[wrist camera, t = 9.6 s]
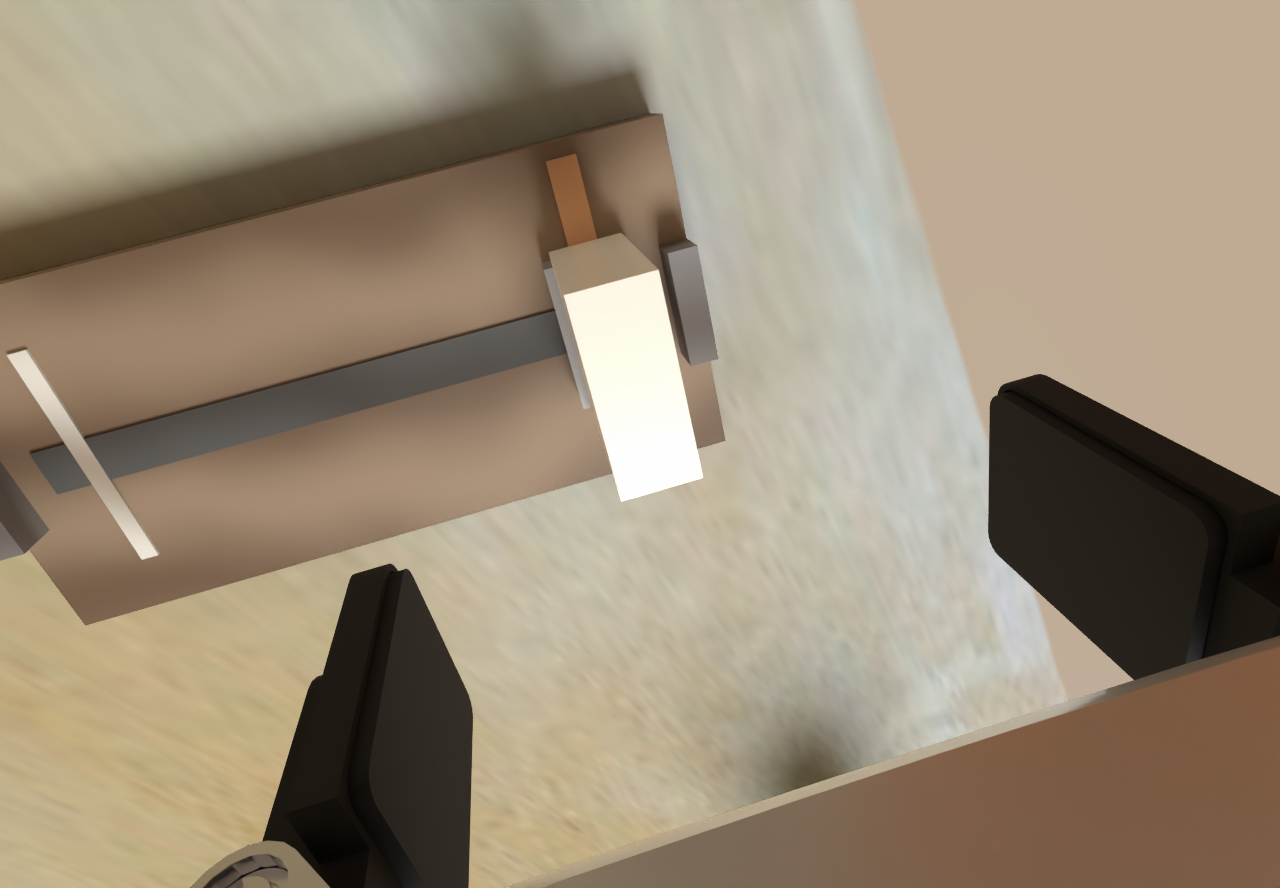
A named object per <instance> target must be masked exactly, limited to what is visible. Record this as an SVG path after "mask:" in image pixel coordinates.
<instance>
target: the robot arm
mask: <svg viewBox="0 0 1280 888" xmlns="http://www.w3.org/2000/svg"><path fill="white" fill-rule="evenodd" d="M988 534H989V539H990V543H991V545H992V547H993V549H994V550H995V552H996V553H997V554H998V555H999V557H1001V558H1002V559H1003V560H1004V561H1005V562H1006V563H1007V564H1008V565H1009V566H1010V567H1011V568H1013V569H1014V570H1015V571H1016V572H1017V573H1018V574H1019V575H1020V576H1021V577H1022V578H1023V579H1025V580H1026V581H1027V582H1028V583H1029V584H1030V585H1031V586H1032V587H1033V588H1034V589H1035V590H1037V591H1038V592H1039V593H1040V594H1041V595H1042V596H1043V597H1044V598H1045V599H1046V600H1047V601H1048V602H1050V603H1051V604H1052V605H1053V606H1054V607H1055V608H1056V609H1057V610H1058V611H1060V613H1062V614H1063V615H1064V616H1065V617H1066V618H1067V619H1068V620H1069V621H1070V622H1071V623H1073V624H1074V625H1075V626H1076V627H1077V628H1078V629H1079V630H1080V631H1081V632H1082V633H1084V635H1086V636H1087V637H1088V638H1089V639H1090V640H1091V641H1092V642H1093V643H1094V644H1095V645H1097V646H1098V647H1099V648H1100V649H1101V650H1102V651H1103V652H1104V653H1105V654H1106V655H1107V656H1108V657H1110V658H1111V659H1112V660H1113V661H1114V662H1115V663H1116V664H1117V665H1118V666H1119V667H1121V668H1122V669H1123V670H1124V671H1125V672H1126V673H1127V674H1128V675H1129V676H1130V677H1132V678H1133V679H1134V681H1131V682H1127V683H1124V684H1122V685H1118V686H1115V687H1112V688H1108V689H1105V690H1102V691H1099V692H1096V693H1093V694H1090V695H1086V696H1084V697H1080V698H1077V699H1074V700H1071V701H1068V702H1064V703H1061V704H1058V705H1055V706H1052V707H1049V708H1046V709H1042V710H1039V711H1036V712H1033V713H1030V714H1027V715H1024V716H1020V717H1017V718H1014V719H1011V720H1008V721H1005V722H1002V723H999V724H996V725H993V726H989V727H986V728H983V729H980V730H977V731H974V732H971V733H968V734H965V735H962V736H959V737H956V738H952V739H949V740H946V741H943V742H940V743H937V744H934V745H931V746H928V747H925V748H922V749H918V750H915V751H912V752H909V753H906V754H903V755H900V756H897V757H894V758H891V759H888V760H885V761H882V762H878V763H875V764H872V765H869V766H866V767H863V768H860V769H857V770H854V771H851V772H848V773H845V774H842V775H839V776H836V777H832V778H829V779H826V780H823V781H820V782H817V783H814V784H811V785H808V786H805V787H802V788H799V789H796V790H793V791H790V792H787V793H784V794H781V795H778V796H775V797H771V798H768V799H765V800H762V801H759V802H756V803H753V804H750V805H747V806H744V807H741V808H738V809H735V810H732V811H729V812H726V813H723V814H720V815H717V816H714V817H711V818H708V819H705V820H702V821H699V822H696V823H693V824H690V825H687V826H684V827H681V828H678V829H675V830H672V831H669V832H666V833H663V834H660V835H657V836H654V837H651V838H648V839H645V840H642V841H639V842H636V843H633V844H630V845H627V846H624V847H621V848H618V849H614V850H611V851H608V852H606V853H603V854H600V855H597V856H594V857H591V858H588V859H586V860H583V861H580V862H577V863H574V864H571V865H568V866H566V867H563V868H560V869H557V870H554V871H551V872H548V873H546V874H543V875H540V876H537V877H534V878H531V879H528V880H526V881H523V882H520V883H517V884H514V885H511V886H508V887H506V888H1280V496H1279V495H1277V494H1274V493H1273V492H1271V491H1269V490H1267V489H1265V488H1263V487H1261V486H1259V485H1257V484H1255V483H1253V482H1252V481H1250V480H1248V479H1246V478H1244V477H1242V476H1240V475H1238V474H1236V473H1234V472H1232V471H1230V470H1228V469H1226V468H1224V467H1222V466H1220V465H1219V464H1216V463H1214V462H1212V461H1211V460H1209V459H1207V458H1205V457H1203V456H1201V455H1199V454H1197V453H1195V452H1193V451H1191V450H1189V449H1187V448H1186V447H1183V446H1182V445H1180V444H1178V443H1176V442H1174V441H1172V440H1170V439H1168V438H1166V437H1164V436H1162V435H1160V434H1158V433H1156V432H1155V431H1152V430H1151V429H1148V428H1147V427H1145V426H1143V425H1141V424H1139V423H1137V422H1135V421H1133V420H1131V419H1129V418H1127V417H1125V416H1123V415H1122V414H1119V413H1117V412H1116V411H1114V410H1112V409H1110V408H1108V407H1106V406H1104V405H1102V404H1100V403H1098V402H1096V401H1094V400H1092V399H1090V398H1088V397H1087V396H1085V395H1083V394H1081V393H1079V392H1077V391H1075V390H1073V389H1071V388H1069V387H1067V386H1065V385H1063V384H1061V383H1059V382H1058V381H1056V380H1054V379H1052V378H1050V377H1048V376H1045V375H1042V374H1038V375H1033V376H1030V377H1027V378H1023V379H1020V380H1016V381H1013V382H1009V383H1006V384H1004V385H1002V386H1001V387H1000V389H999V391H998V395H997V396H995V397H993V398H992V400H991V403H990V436H989V516H988ZM472 731H473V713H472V706H471V701H470V698H469V695H468V693H467V690H466V688H465V686H464V684H463V682H462V680H461V678H460V675H459V673H458V671H457V669H456V667H455V665H454V663H453V661H452V658H451V656H450V654H449V652H448V650H447V648H446V646H445V644H444V641H443V639H442V637H441V635H440V633H439V631H438V629H437V627H436V624H435V622H434V620H433V618H432V616H431V614H430V612H429V610H428V607H427V605H426V603H425V601H424V599H423V597H422V595H421V592H420V590H419V588H418V586H417V584H416V582H415V580H414V578H413V576H412V574H411V572H410V571H409V570H408V569H404V570H401V571H398V570H397V569H396V568H395V566H394V565H392V564H387V565H384V566H380V567H377V568H373V569H370V570H366V571H363V572H360V573H356V574H354V575H352V576H351V578H350V581H349V584H348V588H347V591H346V595H345V598H344V602H343V605H342V609H341V612H340V616H339V619H338V623H337V626H336V630H335V633H334V637H333V640H332V644H331V648H330V651H329V655H328V658H327V662H326V665H325V669H324V672H323V675H321V676H318V677H316V678H315V679H314V680H313V681H312V682H311V685H310V687H309V689H308V692H307V695H306V698H305V702H304V705H303V708H302V712H301V715H300V718H299V722H298V725H297V728H296V732H295V735H294V738H293V741H292V745H291V748H290V751H289V755H288V758H287V761H286V765H285V768H284V771H283V775H282V778H281V781H280V785H279V788H278V791H277V795H276V798H275V801H274V804H273V808H272V811H271V814H270V818H269V821H268V824H267V828H266V831H265V834H264V838H263V841H262V842H260V843H255V844H251V845H248V846H246V847H244V848H242V849H240V850H238V851H236V852H234V853H232V854H230V855H228V856H226V857H225V858H223V859H222V860H221V861H219V862H218V863H217V864H215V865H214V866H213V867H211V868H210V869H208V870H207V871H206V872H205V873H204V874H203V875H202V876H201V877H200V878H199V879H198V880H197V881H196V882H195V883H194V884H193V885H192V886H191V887H190V888H468V883H469V845H470V807H471V769H472Z"/></svg>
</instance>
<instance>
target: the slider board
mask: <svg viewBox="0 0 1280 888" xmlns="http://www.w3.org/2000/svg"><path fill="white" fill-rule="evenodd" d="M618 233H622V234H623V235H624V236H625V237H626V238H627V239H628V240H629V241H630V242H631V243H632V244H633V245H634V246H635V247H636V248H637V249H638V250H639V251H640V252H641V253H642V254H643V255H644V256H645V257H646V258H647V259H648V260H649V261H650V262H651V263H652V264H654V265H655V266H656V267H657V268H658V269H659V274H660V278H661V283H662V288H663V292H664V297H665V302H666V306H667V311H668V316H669V320H670V325H671V330H672V334H673V339H674V344H675V348H676V353H677V358H678V362H679V367H680V372H681V376H682V381H683V386H684V390H685V395H686V400H687V404H688V409H689V414H690V418H691V423H692V428H693V432H694V437H695V442H696V446H697V449H698V448H702V447H705V446H709V445H712V444H716V443H719V442H723V441H725V436H724V431H723V426H722V421H721V415H720V410H719V405H718V400H717V395H716V390H715V384H714V379H713V374H712V369H711V364H710V361H712V360H716V359H718V355H717V350H716V344H715V339H714V334H713V328H712V323H711V317H710V312H709V307H708V301H707V296H706V291H705V285H704V280H703V275H702V269H701V264H700V259H699V253H698V248H697V245H695V244H694V243H693V242H691V241H690V240H688V239H687V238H686V234H685V229H684V224H683V219H682V213H681V208H680V203H679V198H678V193H677V188H676V182H675V177H674V172H673V167H672V162H671V156H670V151H669V146H668V141H667V136H666V131H665V125H664V120H663V115H662V114H647V115H643V116H639V117H635V118H631V119H627V120H623V121H619V122H616V123H612V124H608V125H604V126H600V127H596V128H592V129H588V130H584V131H581V132H577V133H573V134H569V135H565V136H561V137H557V138H553V139H550V140H546V141H542V142H538V143H534V144H530V145H526V146H522V147H518V148H515V149H511V150H507V151H503V152H499V153H495V154H491V155H487V156H484V157H480V158H476V159H472V160H468V161H464V162H460V163H456V164H452V165H449V166H445V167H441V168H437V169H433V170H429V171H425V172H421V173H418V174H414V175H410V176H406V177H402V178H398V179H394V180H390V181H386V182H383V183H379V184H375V185H371V186H367V187H363V188H359V189H355V190H352V191H348V192H344V193H340V194H336V195H332V196H328V197H324V198H320V199H317V200H313V201H309V202H305V203H301V204H297V205H293V206H289V207H286V208H282V209H278V210H274V211H270V212H266V213H262V214H258V215H254V216H251V217H247V218H243V219H239V220H235V221H231V222H227V223H223V224H220V225H216V226H212V227H208V228H204V229H200V230H196V231H192V232H188V233H185V234H181V235H177V236H173V237H169V238H165V239H161V240H157V241H154V242H150V243H146V244H142V245H138V246H134V247H130V248H126V249H122V250H119V251H115V252H111V253H107V254H103V255H99V256H95V257H91V258H88V259H84V260H80V261H76V262H72V263H68V264H64V265H60V266H56V267H53V268H49V269H45V270H41V271H37V272H33V273H29V274H25V275H22V276H18V277H14V278H10V279H6V280H2V281H0V560H4V559H8V558H11V557H15V556H18V555H22V554H25V553H26V552H27V551H28V550H30V551H31V553H32V554H33V556H34V557H35V558H36V560H37V561H38V562H39V564H40V565H41V566H42V568H43V569H44V570H45V572H46V573H47V574H48V576H49V577H50V578H51V580H52V581H53V582H54V584H55V585H56V587H57V588H58V589H59V591H60V592H61V593H62V595H63V596H64V597H65V599H66V600H67V601H68V603H69V604H70V605H71V607H72V608H73V609H74V611H75V612H76V613H77V615H78V616H79V617H80V619H81V620H82V622H83V623H84V624H85V625H89V624H92V623H96V622H99V621H102V620H106V619H109V618H113V617H116V616H120V615H123V614H127V613H130V612H134V611H137V610H141V609H144V608H147V607H151V606H154V605H158V604H161V603H165V602H168V601H172V600H175V599H179V598H182V597H186V596H189V595H193V594H196V593H199V592H203V591H206V590H210V589H213V588H217V587H220V586H224V585H227V584H231V583H234V582H238V581H241V580H245V579H248V578H251V577H255V576H258V575H262V574H265V573H269V572H272V571H276V570H279V569H283V568H286V567H290V566H293V565H296V564H300V563H303V562H307V561H310V560H314V559H317V558H321V557H324V556H328V555H331V554H335V553H338V552H342V551H345V550H348V549H352V548H355V547H359V546H362V545H366V544H369V543H373V542H376V541H380V540H383V539H387V538H390V537H394V536H397V535H400V534H404V533H407V532H411V531H414V530H418V529H421V528H425V527H428V526H432V525H435V524H439V523H442V522H445V521H449V520H452V519H456V518H459V517H463V516H466V515H470V514H473V513H477V512H480V511H484V510H487V509H491V508H494V507H497V506H501V505H504V504H508V503H511V502H515V501H518V500H522V499H525V498H529V497H532V496H536V495H539V494H542V493H546V492H549V491H553V490H556V489H560V488H563V487H567V486H570V485H574V484H577V483H581V482H584V481H588V480H591V479H594V478H598V477H601V476H605V475H608V474H612V471H611V468H610V464H609V461H608V458H607V455H606V452H605V449H604V445H603V442H602V439H601V436H600V433H599V430H598V426H597V423H596V420H595V416H594V413H593V409H592V407H590V408H587V409H583V406H582V402H581V399H580V395H579V392H578V388H577V385H576V381H575V378H574V374H573V371H572V367H571V364H570V360H569V357H568V353H567V350H566V346H565V343H564V339H563V336H562V332H561V329H560V325H559V322H558V318H557V315H556V311H555V308H554V304H553V301H552V297H551V294H550V291H549V287H548V284H547V280H546V277H545V273H544V270H543V266H542V263H543V262H547V261H551V260H550V256H549V253H548V252H551V251H554V250H558V249H562V248H566V247H569V246H573V245H577V244H581V243H584V242H588V241H592V240H596V239H599V238H603V237H607V236H611V235H614V234H618Z"/></svg>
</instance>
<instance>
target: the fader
mask: <svg viewBox="0 0 1280 888" xmlns="http://www.w3.org/2000/svg"><path fill="white" fill-rule="evenodd" d="M548 253H549V256H550V260H551V261H547V262H543V263H542V266H543V270H544V273H545V277H546V280H547V284H548V287H549V291H550V294H551V297H552V301H553V304H554V308H555V311H556V315H557V318H558V322H559V325H560V329H561V332H562V336H563V339H564V343H565V346H566V350H567V353H568V357H569V360H570V364H571V367H572V371H573V374H574V378H575V381H576V385H577V388H578V392H579V395H580V399H581V402H582V406H583V409H587V408H590V407H592V409H593V413H594V416H595V420H596V423H597V426H598V430H599V433H600V436H601V439H602V442H603V445H604V449H605V452H606V455H607V458H608V461H609V464H610V468H611V471H612V474H613V477H614V480H615V484H616V487H617V490H618V493H619V496H620V499H621V502H622V501H626V500H629V499H632V498H636V497H639V496H643V495H646V494H650V493H653V492H656V491H660V490H663V489H667V488H670V487H674V486H677V485H680V484H684V483H687V482H691V481H694V480H698V479H701V478H703V474H702V470H701V465H700V460H699V456H698V451H697V446H696V442H695V437H694V432H693V428H692V423H691V418H690V414H689V409H688V404H687V400H686V395H685V390H684V386H683V381H682V376H681V372H680V367H679V362H678V358H677V353H676V348H675V344H674V339H673V334H672V330H671V325H670V320H669V316H668V311H667V306H666V302H665V297H664V292H663V288H662V283H661V278H660V274H659V269H658V268H657V267H656V266H655V265H654V264H652V263H651V262H650V261H649V260H648V259H647V258H646V257H645V256H644V255H643V254H642V253H641V252H640V251H639V250H638V249H637V248H636V247H635V246H634V245H633V244H632V243H631V242H630V241H629V240H628V239H627V238H626V237H625V236H624V235H623V234H622V233H618V234H614V235H611V236H607V237H603V238H599V239H596V240H592V241H588V242H584V243H581V244H577V245H573V246H569V247H566V248H562V249H558V250H554V251H551V252H548Z"/></svg>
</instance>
